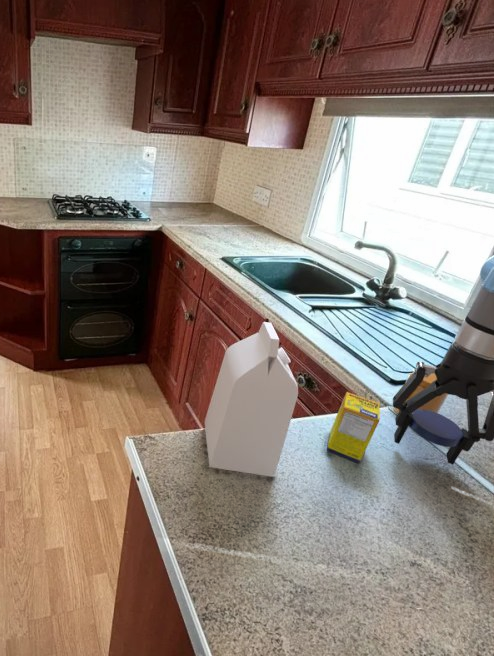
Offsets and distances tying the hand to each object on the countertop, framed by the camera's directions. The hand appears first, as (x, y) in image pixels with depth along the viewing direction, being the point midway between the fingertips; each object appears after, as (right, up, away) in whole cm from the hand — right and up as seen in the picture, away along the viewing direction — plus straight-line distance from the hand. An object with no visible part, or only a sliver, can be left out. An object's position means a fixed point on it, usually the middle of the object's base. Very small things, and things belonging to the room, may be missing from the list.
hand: (422, 448), depth 78 cm
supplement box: (-14, -1, +2) cm, 14 cm away
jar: (+8, +3, +14) cm, 16 cm away
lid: (+1, +5, -3) cm, 6 cm away
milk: (-36, 0, 0) cm, 36 cm away
